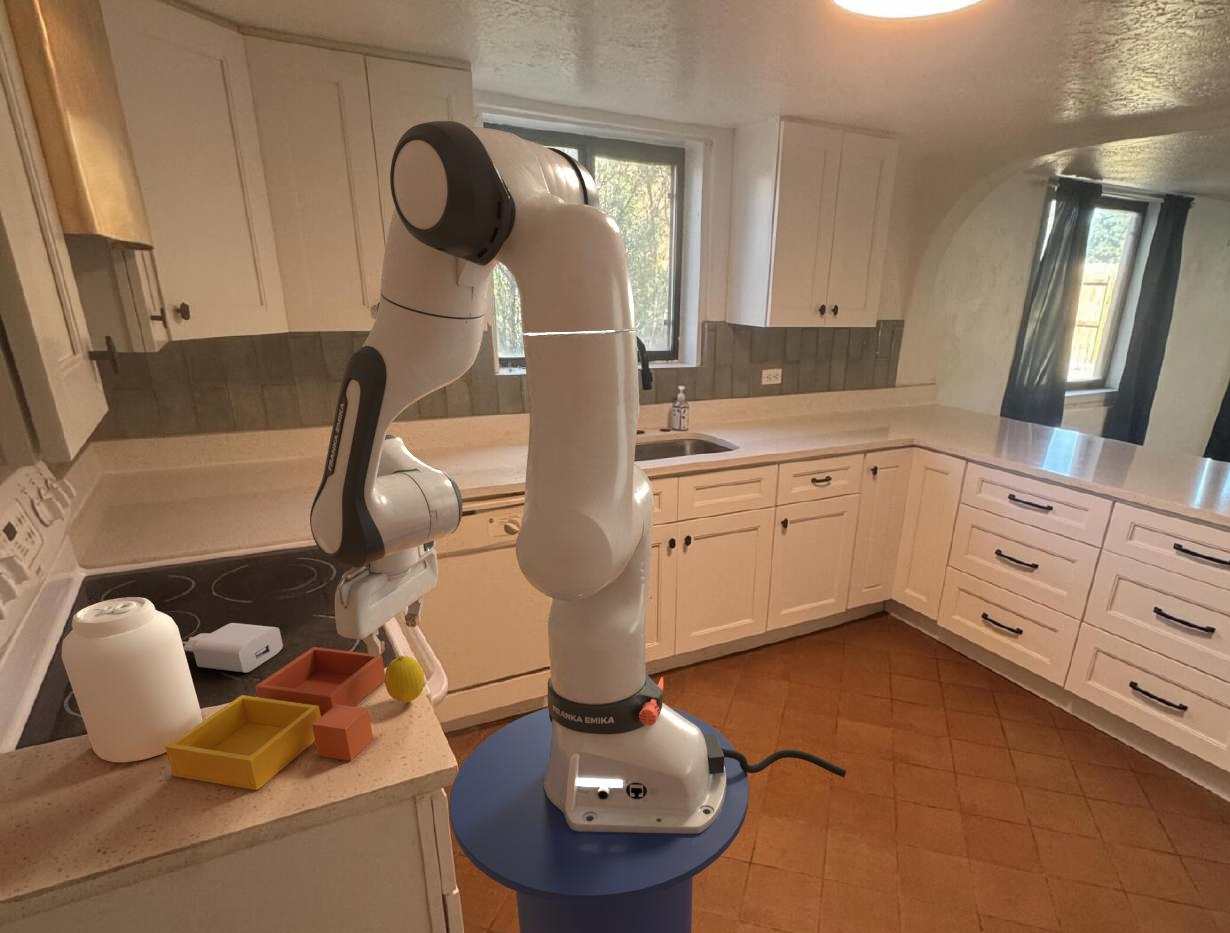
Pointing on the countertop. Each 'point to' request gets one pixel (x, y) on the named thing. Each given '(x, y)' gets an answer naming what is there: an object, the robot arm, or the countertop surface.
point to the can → (130, 678)
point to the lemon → (404, 679)
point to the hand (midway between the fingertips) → (396, 638)
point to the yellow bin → (244, 742)
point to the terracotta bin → (325, 679)
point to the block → (343, 732)
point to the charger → (235, 647)
